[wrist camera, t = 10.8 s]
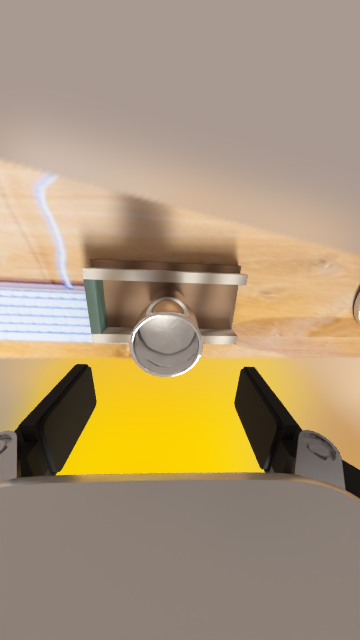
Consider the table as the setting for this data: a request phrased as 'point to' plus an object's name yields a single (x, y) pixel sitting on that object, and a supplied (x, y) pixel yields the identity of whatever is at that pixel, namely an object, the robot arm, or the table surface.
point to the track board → (149, 277)
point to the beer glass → (166, 335)
